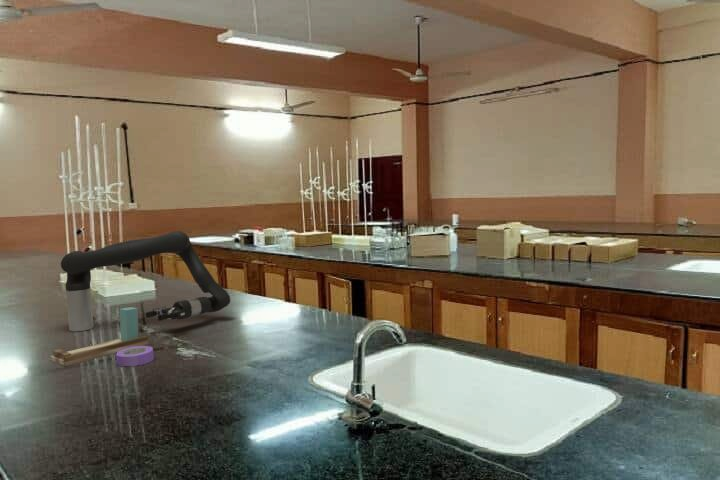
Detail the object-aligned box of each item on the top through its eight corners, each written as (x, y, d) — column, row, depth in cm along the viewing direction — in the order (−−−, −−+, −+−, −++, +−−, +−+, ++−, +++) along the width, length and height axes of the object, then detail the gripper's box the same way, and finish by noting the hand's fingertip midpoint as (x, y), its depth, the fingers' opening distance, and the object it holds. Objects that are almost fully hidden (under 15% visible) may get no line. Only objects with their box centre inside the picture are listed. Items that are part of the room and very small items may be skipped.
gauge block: (120, 340, 204) (119, 308, 203) (132, 337, 207) (131, 307, 206) (127, 342, 201) (126, 310, 200) (138, 339, 205) (137, 308, 204)
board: (50, 360, 187) (49, 350, 187) (131, 339, 211) (130, 330, 211) (66, 366, 180) (65, 356, 180) (148, 343, 204) (147, 334, 203)
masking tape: (118, 369, 176) (117, 358, 175) (115, 359, 186) (115, 349, 186) (155, 363, 181) (155, 352, 181) (151, 354, 192) (151, 343, 191)
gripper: (176, 298, 228) (141, 305, 215) (197, 301, 219) (161, 309, 207) (177, 315, 229) (142, 323, 216) (198, 319, 220) (163, 328, 207)
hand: (152, 316), depth 211 cm, fingers open, 8 cm apart
